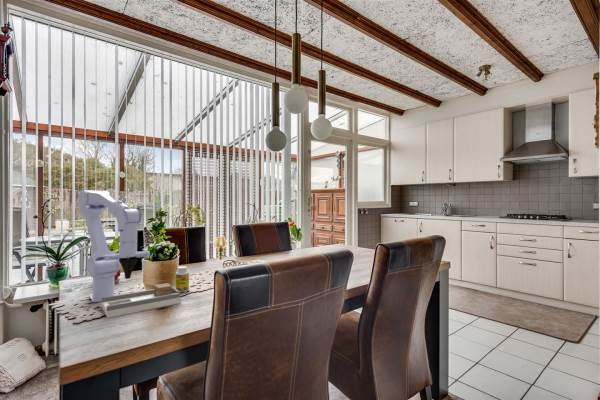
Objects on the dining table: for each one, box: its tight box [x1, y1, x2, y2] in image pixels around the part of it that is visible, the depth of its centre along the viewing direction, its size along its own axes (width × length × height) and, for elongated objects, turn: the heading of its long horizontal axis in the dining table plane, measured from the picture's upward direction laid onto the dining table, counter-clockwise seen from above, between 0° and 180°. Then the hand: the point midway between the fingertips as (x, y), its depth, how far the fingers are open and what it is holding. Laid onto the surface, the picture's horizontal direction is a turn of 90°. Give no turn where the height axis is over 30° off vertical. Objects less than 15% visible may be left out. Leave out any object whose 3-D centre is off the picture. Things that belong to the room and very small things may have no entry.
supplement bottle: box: [174, 265, 190, 293], centre depth 133 cm, size 6×6×10 cm
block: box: [153, 282, 173, 297], centre depth 119 cm, size 5×5×4 cm
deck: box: [100, 286, 182, 319], centre depth 114 cm, size 14×24×4 cm, turn 130°
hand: (127, 278), depth 113 cm, fingers closed
